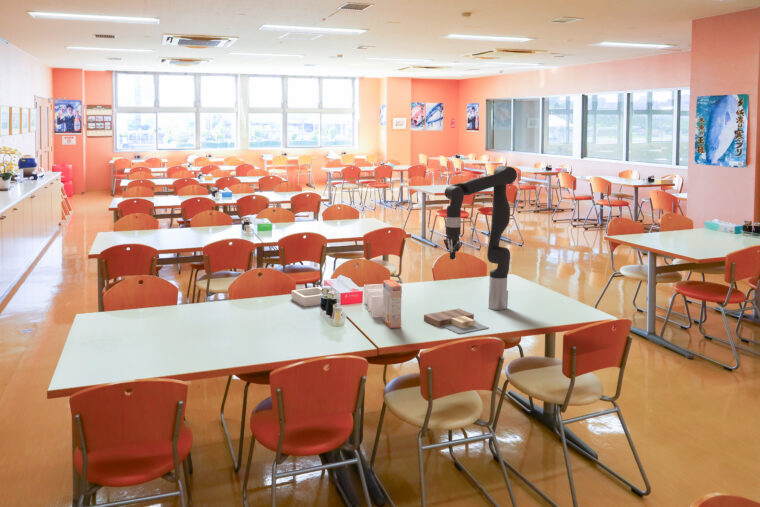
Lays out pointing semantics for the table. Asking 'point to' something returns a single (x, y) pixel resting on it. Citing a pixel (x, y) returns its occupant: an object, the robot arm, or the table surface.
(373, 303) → the storage container
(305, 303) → the holder corral
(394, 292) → the cracker box
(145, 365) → the table surface
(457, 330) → the rubber mat
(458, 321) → the maple tile
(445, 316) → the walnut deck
